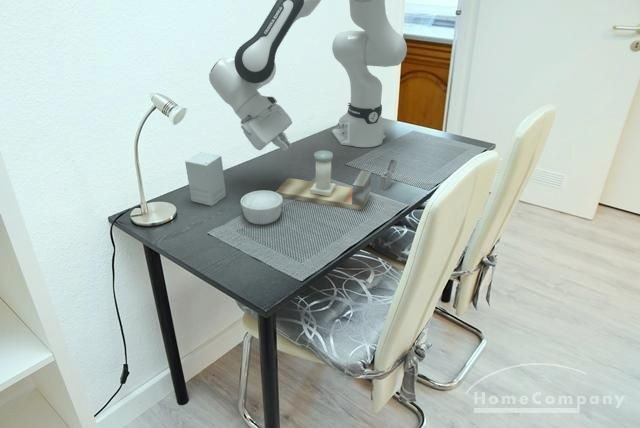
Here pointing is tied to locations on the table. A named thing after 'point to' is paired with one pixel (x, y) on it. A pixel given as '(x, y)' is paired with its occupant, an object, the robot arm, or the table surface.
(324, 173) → the white upright cylinder
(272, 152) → the table surface
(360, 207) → the rail mount
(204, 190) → the supplement box
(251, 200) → the ramekin
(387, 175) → the lighter
